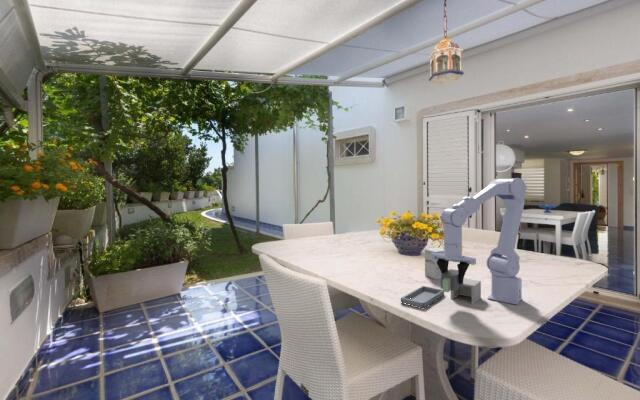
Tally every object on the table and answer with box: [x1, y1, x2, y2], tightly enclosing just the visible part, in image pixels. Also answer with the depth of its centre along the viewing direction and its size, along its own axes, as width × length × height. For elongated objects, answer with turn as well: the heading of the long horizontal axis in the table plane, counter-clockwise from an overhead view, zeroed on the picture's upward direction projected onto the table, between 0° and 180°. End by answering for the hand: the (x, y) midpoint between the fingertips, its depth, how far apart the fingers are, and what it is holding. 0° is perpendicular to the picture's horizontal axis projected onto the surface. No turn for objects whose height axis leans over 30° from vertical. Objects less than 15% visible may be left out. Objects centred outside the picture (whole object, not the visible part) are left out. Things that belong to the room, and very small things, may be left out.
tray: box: [400, 285, 445, 309], centre depth 123 cm, size 9×18×2 cm, turn 137°
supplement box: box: [424, 247, 444, 280], centre depth 150 cm, size 7×7×13 cm
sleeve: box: [450, 277, 482, 304], centre depth 123 cm, size 7×8×6 cm
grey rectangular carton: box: [440, 268, 463, 293], centre depth 114 cm, size 10×5×5 cm, turn 138°
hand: (452, 282), depth 115 cm, fingers closed on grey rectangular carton, 5 cm apart
